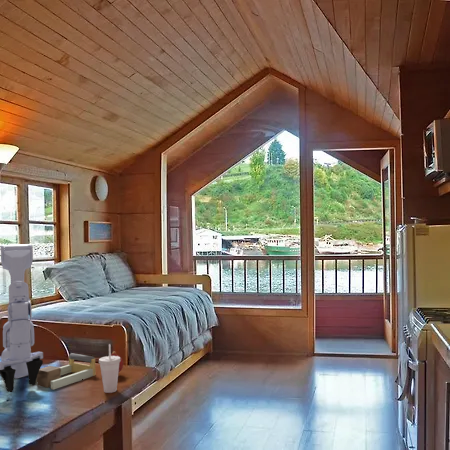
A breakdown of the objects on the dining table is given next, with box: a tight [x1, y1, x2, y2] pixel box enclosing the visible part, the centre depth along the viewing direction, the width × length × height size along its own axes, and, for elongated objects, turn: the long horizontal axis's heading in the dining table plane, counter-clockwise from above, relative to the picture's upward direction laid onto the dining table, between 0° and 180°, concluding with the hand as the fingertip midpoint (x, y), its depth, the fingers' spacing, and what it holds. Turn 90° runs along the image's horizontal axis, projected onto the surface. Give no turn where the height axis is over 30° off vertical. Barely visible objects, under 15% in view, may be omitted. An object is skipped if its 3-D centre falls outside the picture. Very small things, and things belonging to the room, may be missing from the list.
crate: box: [36, 365, 62, 388], centre depth 164 cm, size 5×5×5 cm
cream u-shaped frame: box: [35, 352, 97, 390], centre depth 169 cm, size 11×18×6 cm, turn 148°
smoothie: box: [98, 343, 121, 394], centre depth 156 cm, size 6×6×14 cm
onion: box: [111, 350, 124, 374], centre depth 172 cm, size 6×6×8 cm
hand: (21, 388), depth 156 cm, fingers open, 7 cm apart
